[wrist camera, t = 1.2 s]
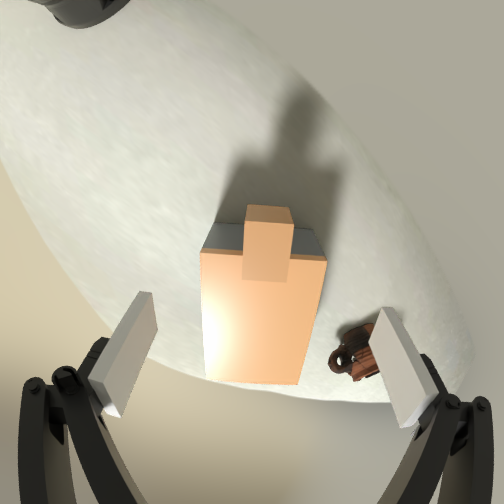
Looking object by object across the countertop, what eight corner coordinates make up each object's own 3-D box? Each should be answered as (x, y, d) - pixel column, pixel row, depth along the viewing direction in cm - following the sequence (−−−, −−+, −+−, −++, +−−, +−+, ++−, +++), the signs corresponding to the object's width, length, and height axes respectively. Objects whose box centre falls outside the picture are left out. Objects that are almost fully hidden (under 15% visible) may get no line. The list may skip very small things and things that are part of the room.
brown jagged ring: (387, 315, 43) (406, 357, 38) (367, 336, 50) (381, 373, 46) (326, 333, 41) (344, 382, 36) (312, 352, 48) (325, 393, 43)
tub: (213, 222, 37) (202, 247, 29) (312, 229, 36) (325, 256, 29) (214, 337, 45) (207, 373, 38) (292, 342, 45) (296, 378, 38)
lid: (203, 199, 28) (190, 217, 23) (331, 208, 28) (346, 228, 23) (208, 369, 39) (202, 400, 33) (296, 374, 39) (299, 405, 33)
